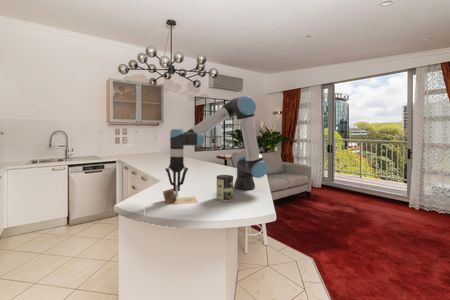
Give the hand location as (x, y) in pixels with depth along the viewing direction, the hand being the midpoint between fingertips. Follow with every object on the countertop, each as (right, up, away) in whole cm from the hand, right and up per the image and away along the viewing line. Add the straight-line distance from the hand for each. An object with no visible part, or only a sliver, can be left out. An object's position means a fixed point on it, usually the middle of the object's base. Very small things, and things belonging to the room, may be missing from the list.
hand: (176, 196), depth 136 cm
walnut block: (-3, -2, -1) cm, 4 cm away
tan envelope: (+3, -3, +2) cm, 5 cm away
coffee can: (+28, -3, +8) cm, 29 cm away
